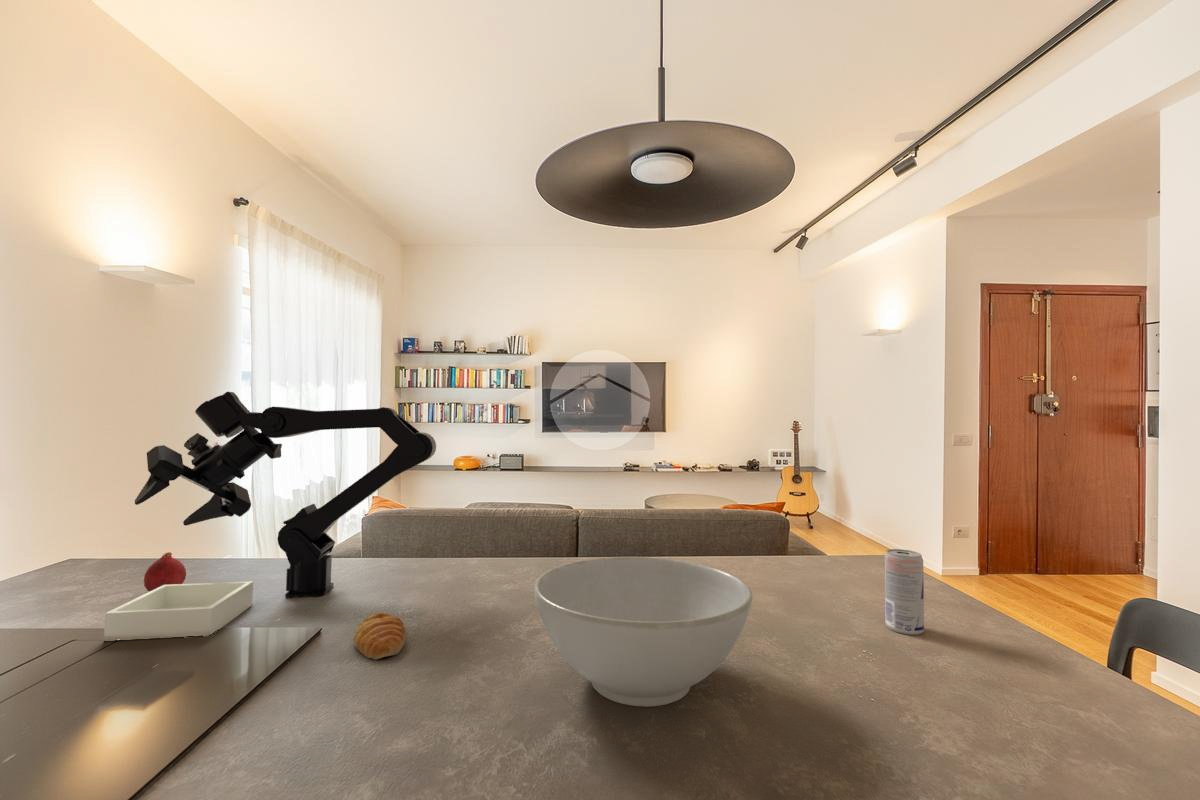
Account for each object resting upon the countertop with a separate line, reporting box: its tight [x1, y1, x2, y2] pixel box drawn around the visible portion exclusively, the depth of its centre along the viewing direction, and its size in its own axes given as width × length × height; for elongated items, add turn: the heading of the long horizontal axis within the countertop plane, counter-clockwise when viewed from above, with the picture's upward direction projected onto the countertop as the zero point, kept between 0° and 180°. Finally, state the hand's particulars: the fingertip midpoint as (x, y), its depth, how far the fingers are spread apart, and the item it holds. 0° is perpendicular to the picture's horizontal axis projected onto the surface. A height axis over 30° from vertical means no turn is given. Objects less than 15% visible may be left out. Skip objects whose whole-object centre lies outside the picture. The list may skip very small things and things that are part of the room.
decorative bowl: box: [533, 556, 753, 708], centre depth 67 cm, size 27×27×12 cm
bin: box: [103, 580, 254, 640], centre depth 84 cm, size 14×14×4 cm
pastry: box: [353, 612, 407, 661], centre depth 76 cm, size 9×7×4 cm
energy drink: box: [884, 548, 925, 636], centre depth 85 cm, size 5×5×12 cm
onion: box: [143, 551, 187, 592], centre depth 95 cm, size 6×6×8 cm
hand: (160, 513), depth 95 cm, fingers open, 9 cm apart
